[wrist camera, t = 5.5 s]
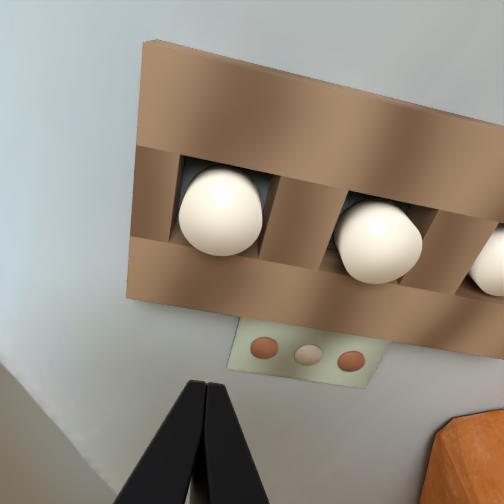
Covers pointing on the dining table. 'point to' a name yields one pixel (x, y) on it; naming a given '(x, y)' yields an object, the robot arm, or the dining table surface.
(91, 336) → the dining table surface
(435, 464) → the bread
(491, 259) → the white egg
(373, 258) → the off-white egg
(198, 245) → the cream egg
